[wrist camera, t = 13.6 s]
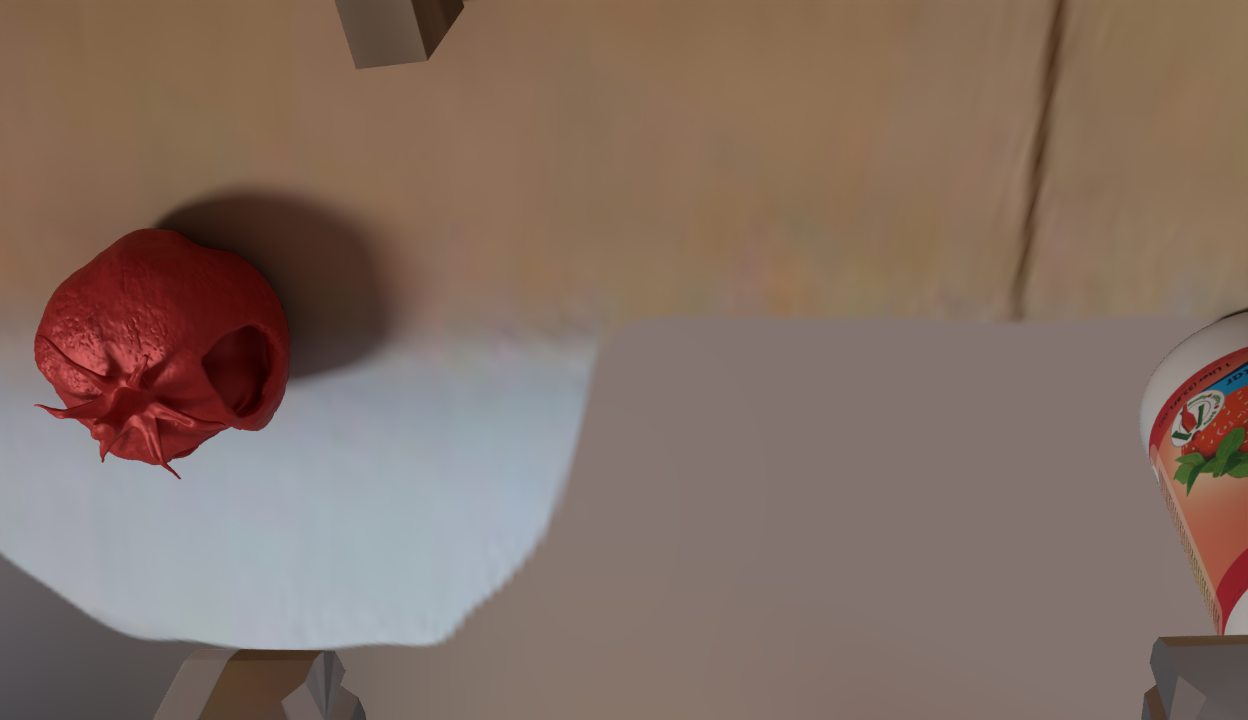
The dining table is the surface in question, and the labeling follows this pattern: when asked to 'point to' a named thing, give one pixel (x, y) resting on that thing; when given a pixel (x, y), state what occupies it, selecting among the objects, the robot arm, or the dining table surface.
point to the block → (395, 29)
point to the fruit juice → (1206, 460)
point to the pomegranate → (164, 346)
